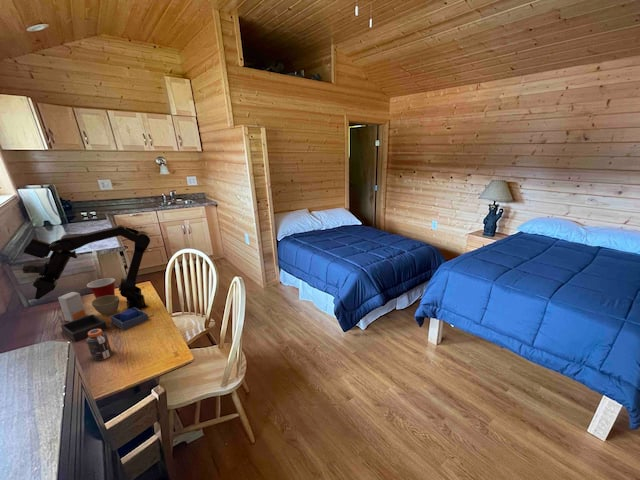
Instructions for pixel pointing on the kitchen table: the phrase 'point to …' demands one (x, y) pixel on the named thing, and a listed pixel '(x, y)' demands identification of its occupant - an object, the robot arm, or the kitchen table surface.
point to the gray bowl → (106, 304)
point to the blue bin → (130, 323)
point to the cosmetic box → (72, 306)
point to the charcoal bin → (83, 327)
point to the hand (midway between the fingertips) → (39, 294)
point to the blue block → (128, 315)
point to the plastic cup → (102, 287)
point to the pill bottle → (98, 344)
